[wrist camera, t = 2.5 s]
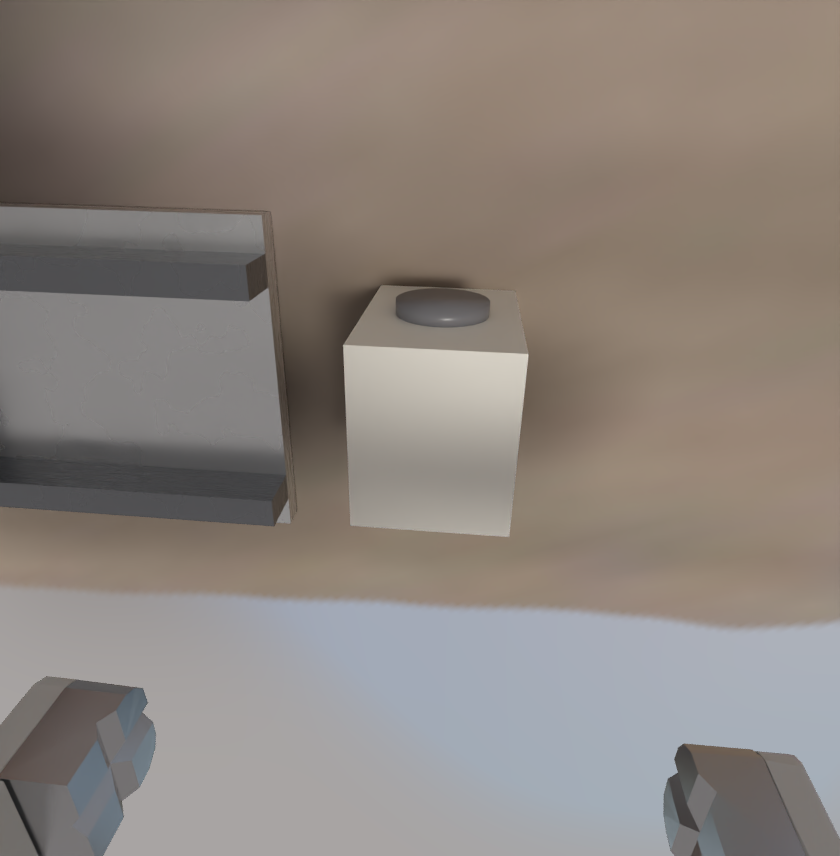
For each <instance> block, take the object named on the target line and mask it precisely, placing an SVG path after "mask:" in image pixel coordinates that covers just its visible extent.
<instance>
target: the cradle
mask: <svg viewBox="0 0 840 856" xmlns="http://www.w3.org/2000/svg"><path fill="white" fill-rule="evenodd" d="M0 506H2V507H16V508H30V509H43V510H57V511H71V512H85V513H99V514H112V515H126V516H140V517H154V518H168V519H182V520H195V521H209V522H223V523H237V524H251V525H265V526H275V524H276V522H277V523H291V522H292V520H293V518H294V516H295V514H296V512H297V505H296V494H295V483H294V471H293V460H292V449H291V437H290V426H289V414H288V403H287V392H286V380H285V369H284V358H283V346H282V335H281V324H280V312H279V301H278V290H277V278H276V267H275V255H274V244H273V233H272V221H271V212H267V211H237V210H206V209H176V208H146V207H115V206H85V205H54V204H24V203H0Z"/></svg>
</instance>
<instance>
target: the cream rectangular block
mask: <svg viewBox="0 0 840 856" xmlns="http://www.w3.org/2000/svg"><path fill="white" fill-rule="evenodd" d="M343 353H344V378H345V402H346V427H347V452H348V477H349V502H350V526H362V527H377V528H391V529H405V530H419V531H433V532H447V533H461V534H475V535H489V536H503V537H509V533H510V523H511V514H512V505H513V495H514V486H515V476H516V467H517V458H518V448H519V439H520V429H521V420H522V411H523V401H524V392H525V382H526V373H527V364H528V349H527V344H526V340H525V335H524V330H523V325H522V320H521V316H520V311H519V306H518V301H517V296H516V292H515V291H512V290H488V289H463V288H439V287H415V286H391V285H381V286H380V288H379V289H378V291H377V293H376V294H375V296H374V297H373V299H372V300H371V302H370V304H369V305H368V307H367V308H366V310H365V311H364V313H363V315H362V316H361V318H360V319H359V321H358V323H357V324H356V326H355V327H354V329H353V330H352V332H351V334H350V335H349V337H348V338H347V340H346V341H345V343H344V345H343Z"/></svg>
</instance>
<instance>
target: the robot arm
mask: <svg viewBox="0 0 840 856" xmlns="http://www.w3.org/2000/svg"><path fill="white" fill-rule="evenodd" d="M147 703H148V702H147V699H146V696H145V693H144V690H143V688H137V687H129V686H122V685H114V684H106V683H98V682H89V681H81V680H76V679H67V678H57V677H48V676H46V677H45V678H43V679H42V680H40V681H39V682H37V683H35V684H34V685H33V686H32V687H31V689H30V690H29V691H28V692H27V694H26V695H25V696H24V697H23V698H22V699H21V701H20V702H19V703H18V704H17V706H16V707H15V708H14V709H13V710H12V712H11V713H10V714H9V715H8V716H7V718H6V719H5V720H4V721H3V722H2V724H1V725H0V856H103V855H104V853H105V851H106V849H107V847H108V845H109V844H110V842H111V840H112V838H113V836H114V834H115V833H116V831H117V829H118V827H119V825H120V823H121V821H122V820H123V817H124V815H123V806H122V800H124V799H125V798H126V797H128V796H129V795H130V794H132V793H133V792H134V791H135V790H137V789H138V788H139V787H140V785H141V784H142V782H143V780H144V778H145V776H146V774H147V772H148V770H149V768H150V764H151V761H152V757H153V754H154V751H155V742H156V741H155V740H156V732H155V728H154V724H153V722H152V721H151V720H150V719H149V718H148V717H146V715H145V714H143V713H142V712H143V710H144V708H145V707H146V705H147ZM674 760H675V763H676V767H677V770H678V773H677V774H675V775H673V776H672V777H670V778H669V779H668V781H667V784H666V788H665V792H664V821H665V828H666V834H667V838H668V842H669V846H670V850H671V852H672V853H673V854H674V856H840V838H839V836H838V834H837V832H836V830H835V828H834V826H833V824H832V822H831V820H830V818H829V816H828V814H827V812H826V810H825V808H824V806H823V804H822V802H821V800H820V798H819V796H818V794H817V792H816V790H815V788H814V786H813V784H812V782H811V780H810V778H809V776H808V774H807V773H806V770H805V768H804V766H803V764H802V763H801V762H800V761H799V760H798V759H797V758H796V757H795V756H794V755H789V754H780V753H769V752H758V751H757V752H756V751H753V750H750V749H738V748H727V747H716V746H705V745H693V744H682V745H681V746H680V747H679V748H678V750H677V753H676V756H675V759H674Z"/></svg>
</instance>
